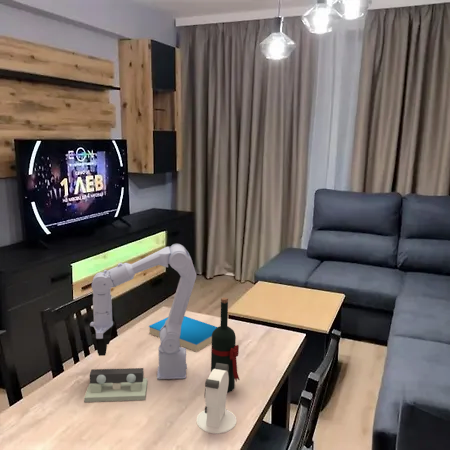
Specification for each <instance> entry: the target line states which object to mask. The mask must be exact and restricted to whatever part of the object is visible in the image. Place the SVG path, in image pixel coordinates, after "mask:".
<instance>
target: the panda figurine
mask: <svg viewBox="0 0 450 450" xmlns="http://www.w3.org/2000/svg"><path fill="white" fill-rule="evenodd" d="M228 370H229V365H227V364H221V363H216V366H215V369H213V370H212V372H211V371H210V372H209V376H208V378H206V380H205V383H204V386H205V389H204V403H205V407H204V410H202V411H200V412H199V413H198V414H197V416H196V424H197V428H199V429H200V430H201V431H203V432H205V433H208V434H214V435H222V434H226V433H228V432H230V431H232V430H233V429H234V428H235V426H236V425H237V417H236V415H235V414H234V413H233V412H232V411H230V410H228V409H226V405H227V394H228V393H227V391H228V384H229V376H228Z"/></svg>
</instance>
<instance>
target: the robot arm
mask: <svg viewBox="0 0 450 450" xmlns="http://www.w3.org/2000/svg"><path fill="white" fill-rule="evenodd" d="M157 266H162V267H165V268H169V266H170V268H172V269H174V271H176V272H177V273H178V274H179V276H180V277H179V280H178V283H177V288H176V292H175V294H174V297H173V300H172V304H171V307H170V311H169V313H168V319H167V320H166V322H165V324H164V326H163V327H162V328H161V329H160V332H159V336H160V337H159V339H160V340H159V341H160V344H159V346H158V366H157V374H156V379H157V380H178V379H182V380H183V379H187V370H188V363H187V348H185V347H183V346H180V341H179V338H180V333H181V325H182V321H183V318H184V316H185V315H186V311H187V308H188V305H189V301H190V298H191V295H192V294H193V293H192V292H193V289H194V287H195V283H196V280H197V272H196V269H195V267H194V264H193V260H192V257H191V255H190V253H189V251H188V250H187V249H186V247H185V246H184V245H182V244H180V243H173V244H172V245H171V246H165V247H163V248H161V249H160V250H158V251H156V252H155V251H154V253H151V254H150V255H147V256H145V257H143V258H140V259H139V260H137V261H135V262H132V263H129V262H124V263H123V262H118V264H117V266H114V267H112V268H110V269H108V270H107V269H106V268H105V269H104V270H103V271H100V272H97V273H96V274H95V275H94V276H93V278H92V281H91V290H92V307H93V308H92V309H93V311H92V312H93V313H92V314H93V321H91V322H90V323H89V326H90V327H93V328H94V331H95V333H92V335H91V341H92V342H93V343H94V345H95V348H96V352H97V355H98V356H99V357H101V356H103V357H104V356H106V354H107V349H108V348H107V347H108V345H110V342H111V338H112V337H111V335H112V330H113V327H114V326H115V322H116V321H114V320H113V305H112V303H113V300H112V295H111V294H112V293H111V289H112V288H116V287H118V286H120V285H122V284H125V283H127V282H129V281H131V280H133V279H134V278H135V275H136V274H138V273H140V272H143V271H146V270H148V269H151V268H154V267H157Z"/></svg>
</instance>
